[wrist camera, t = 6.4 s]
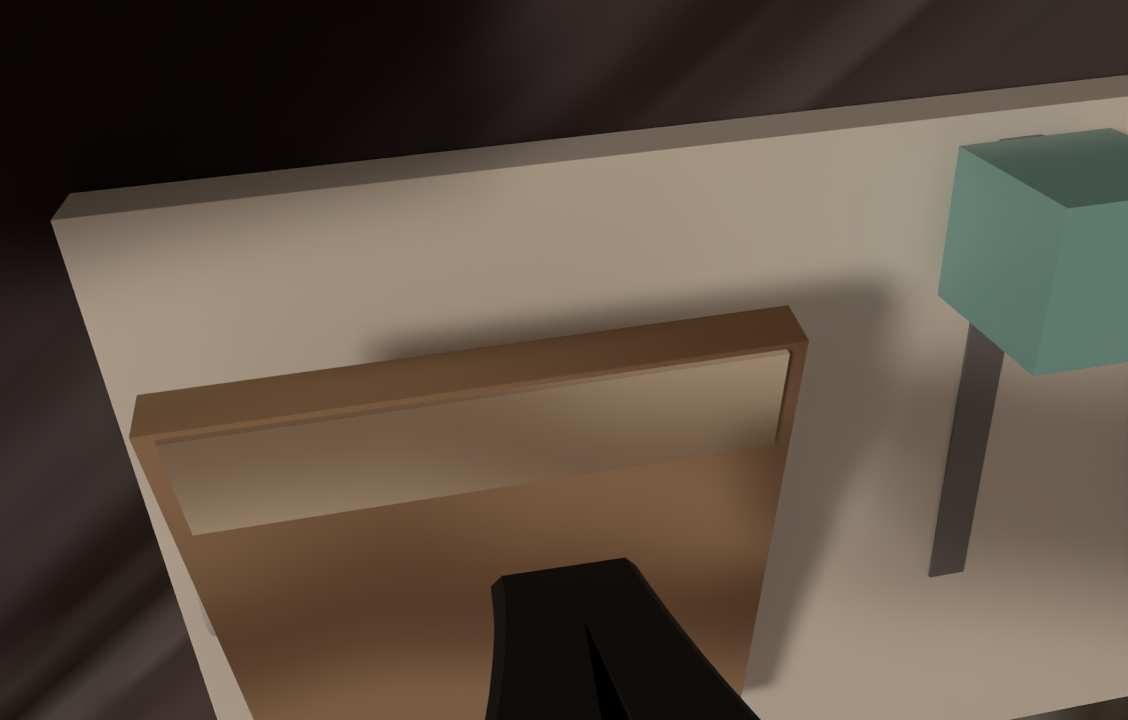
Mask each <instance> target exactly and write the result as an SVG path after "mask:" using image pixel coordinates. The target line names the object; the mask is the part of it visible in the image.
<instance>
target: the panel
mask: <svg viewBox="0 0 1128 720" xmlns="http://www.w3.org/2000/svg"><path fill="white" fill-rule="evenodd" d="M1105 128H1112V129H1114V130H1116V131H1119V132H1121V133H1123V134H1126V135H1128V75H1123V76H1114V77H1106V78H1097V79H1088V80H1079V81H1070V82H1061V83H1052V84H1043V85H1034V86H1025V87H1016V88H1007V89H998V90H990V91H981V92H972V93H963V94H954V95H945V96H936V97H927V98H918V99H909V100H900V101H891V102H882V103H874V104H865V105H856V106H847V107H838V108H829V109H820V110H811V111H802V112H793V113H784V114H775V115H766V116H758V117H749V118H740V119H731V120H722V121H713V122H704V123H695V124H686V125H677V126H668V127H659V128H650V129H642V130H633V131H624V132H615V133H606V134H597V135H588V136H579V137H570V138H561V139H552V140H543V141H534V142H526V143H517V144H508V145H499V146H490V147H481V148H472V149H463V150H454V151H445V152H436V153H427V154H418V155H410V156H401V157H392V158H383V159H374V160H365V161H356V162H347V163H338V164H329V165H320V166H311V167H302V168H294V169H285V170H276V171H267V172H258V173H249V174H240V175H231V176H222V177H213V178H204V179H195V180H186V181H178V182H169V183H160V184H151V185H142V186H133V187H124V188H115V189H106V190H97V191H88V192H79V193H70V194H69V196H68V197H67V198H66V200H65V201H64V202H63V204H62V205H61V207H60V208H59V209H58V211H57V212H56V214H55V215H54V216H53V218H52V219H51V223H52V226H53V229H54V232H55V235H56V238H57V241H58V244H59V247H60V250H61V253H62V256H63V259H64V262H65V265H66V268H67V271H68V274H69V277H70V280H71V283H72V286H73V289H74V292H75V295H76V298H77V301H78V304H79V307H80V310H81V313H82V316H83V319H84V322H85V325H86V328H87V331H88V334H89V337H90V340H91V343H92V346H93V349H94V352H95V355H96V358H97V361H98V364H99V367H100V370H101V373H102V376H103V379H104V382H105V385H106V388H107V391H108V394H109V397H110V400H111V403H112V406H113V409H114V412H115V415H116V418H117V421H118V424H119V427H120V430H121V433H122V436H123V438H124V441H125V444H126V447H127V450H128V453H129V456H130V459H131V462H132V465H133V468H134V471H135V474H136V477H137V480H138V483H139V486H140V489H141V492H142V495H143V498H144V501H145V504H146V507H147V510H148V513H149V516H150V519H151V522H152V525H153V528H154V531H155V534H156V537H157V540H158V543H159V546H160V549H161V552H162V555H163V558H164V561H165V564H166V567H167V570H168V573H169V576H170V579H171V582H172V585H173V588H174V591H175V594H176V597H177V600H178V603H179V606H180V609H181V612H182V615H183V618H184V621H185V624H186V627H187V630H188V633H189V636H190V639H191V642H192V645H193V648H194V651H195V654H196V657H197V660H198V663H199V666H200V669H201V672H202V675H203V678H204V681H205V684H206V687H207V690H208V693H209V696H210V699H211V702H212V705H213V708H214V711H215V714H216V717H217V720H254V719H253V717H252V715H251V713H250V710H249V708H248V706H247V704H246V701H245V699H244V697H243V695H242V692H241V690H240V688H239V686H238V683H237V681H236V679H235V677H234V674H233V672H232V670H231V667H230V665H229V663H228V661H227V658H226V656H225V654H224V652H223V649H222V647H221V645H220V643H219V640H218V638H217V636H216V634H215V631H214V629H213V627H212V625H211V622H210V620H209V618H208V616H207V613H206V611H205V609H204V607H203V604H202V602H201V600H200V598H199V595H198V593H197V591H196V589H195V586H194V584H193V582H192V580H191V577H190V575H189V573H188V571H187V568H186V566H185V564H184V562H183V559H182V557H181V555H180V553H179V550H178V548H177V546H176V544H175V541H174V539H173V537H172V534H171V532H170V530H169V528H168V525H167V523H166V521H165V519H164V516H163V514H162V512H161V510H160V507H159V505H158V503H157V501H156V498H155V496H154V494H153V492H152V489H151V487H150V485H149V483H148V480H147V478H146V476H145V474H144V471H143V469H142V467H141V465H140V462H139V460H138V458H137V456H136V453H135V451H134V449H133V447H132V444H131V442H130V440H129V434H130V429H131V423H132V418H133V413H134V407H135V402H136V397H137V395H141V394H148V393H155V392H162V391H170V390H177V389H184V388H191V387H199V386H206V385H213V384H220V383H228V382H235V381H242V380H249V379H257V378H264V377H271V376H278V375H286V374H293V373H300V372H307V371H315V370H322V369H329V368H336V367H344V366H351V365H358V364H365V363H373V362H380V361H387V360H394V359H402V358H409V357H416V356H423V355H431V354H438V353H445V352H452V351H460V350H467V349H474V348H481V347H489V346H496V345H503V344H510V343H518V342H525V341H532V340H539V339H547V338H554V337H561V336H568V335H576V334H583V333H590V332H597V331H605V330H612V329H619V328H626V327H634V326H641V325H648V324H655V323H663V322H670V321H677V320H684V319H692V318H699V317H706V316H713V315H721V314H728V313H735V312H742V311H750V310H757V309H764V308H771V307H779V306H786V305H789V307H790V309H791V310H792V312H793V314H794V316H795V317H796V319H797V321H798V323H799V324H800V326H801V328H802V329H803V331H804V333H805V335H806V336H807V338H808V340H809V343H808V349H807V354H806V359H805V364H804V370H803V375H802V380H801V385H800V391H799V396H798V401H797V406H796V412H795V417H794V422H793V427H792V433H791V438H790V443H789V448H788V454H787V459H786V464H785V469H784V475H783V480H782V485H781V490H780V496H779V501H778V506H777V511H776V517H775V522H774V527H773V532H772V538H771V543H770V548H769V553H768V559H767V564H766V569H765V574H764V580H763V585H762V590H761V595H760V601H759V606H758V611H757V616H756V622H755V627H754V632H753V637H752V643H751V648H750V653H749V658H748V664H747V669H746V674H745V679H744V685H743V690H742V695H741V698H742V699H743V700H744V702H745V703H746V704H747V705H748V706H749V707H750V708H751V709H752V710H753V712H754V713H755V714H756V715H757V716H758V717H759V718H760V719H761V720H1010V719H1015V718H1020V717H1025V716H1030V715H1035V714H1040V713H1045V712H1050V711H1055V710H1060V709H1065V708H1070V707H1075V706H1080V705H1085V704H1090V703H1095V702H1100V701H1105V700H1110V699H1115V698H1120V697H1125V696H1128V362H1125V363H1118V364H1112V365H1105V366H1098V367H1092V368H1085V369H1079V370H1072V371H1066V372H1059V373H1053V374H1046V375H1039V376H1032V375H1031V374H1030V373H1029V372H1028V371H1026V370H1025V369H1024V368H1023V367H1022V366H1020V365H1019V364H1018V363H1017V362H1016V361H1015V360H1013V359H1012V358H1011V357H1010V356H1009V355H1008V354H1006V353H1005V352H1004V351H1003V350H1002V349H1000V348H999V347H998V346H997V345H996V344H995V343H993V342H992V341H991V340H990V339H989V338H988V337H986V336H985V335H984V334H983V333H982V332H980V331H979V330H978V329H977V328H976V327H975V326H973V325H972V324H971V323H970V322H969V321H968V320H966V319H965V318H964V317H963V316H962V315H960V314H959V313H958V312H957V311H956V310H955V309H953V308H952V307H951V306H950V305H949V304H948V303H946V302H945V301H944V300H943V299H942V298H940V297H939V296H938V288H939V281H940V274H941V267H942V260H943V253H944V246H945V240H946V233H947V226H948V219H949V212H950V205H951V198H952V191H953V184H954V177H955V170H956V163H957V156H958V149H959V146H962V145H971V144H979V143H987V142H996V141H1004V140H1013V139H1021V138H1029V137H1038V136H1046V135H1055V134H1063V133H1071V132H1080V131H1088V130H1096V129H1105Z"/></svg>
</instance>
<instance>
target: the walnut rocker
mask: <svg viewBox="0 0 1128 720" xmlns="http://www.w3.org/2000/svg"><path fill="white" fill-rule="evenodd" d="M808 343H809V340H808V338H807V336H806V335H805V333H804V331H803V329H802V328H801V326H800V324H799V323H798V321H797V319H796V317H795V316H794V314H793V312H792V310H791V309H790V307H789V305H786V306H779V307H771V308H764V309H757V310H750V311H742V312H735V313H728V314H721V315H713V316H706V317H699V318H692V319H684V320H677V321H670V322H663V323H655V324H648V325H641V326H634V327H626V328H619V329H612V330H605V331H597V332H590V333H583V334H576V335H568V336H561V337H554V338H547V339H539V340H532V341H525V342H518V343H510V344H503V345H496V346H489V347H481V348H474V349H467V350H460V351H452V352H445V353H438V354H431V355H423V356H416V357H409V358H402V359H394V360H387V361H380V362H373V363H365V364H358V365H351V366H344V367H336V368H329V369H322V370H315V371H307V372H300V373H293V374H286V375H278V376H271V377H264V378H257V379H249V380H242V381H235V382H228V383H220V384H213V385H206V386H199V387H191V388H184V389H177V390H170V391H162V392H155V393H148V394H141V395H137V397H136V402H135V407H134V413H133V418H132V423H131V429H130V434H129V440H130V442H131V444H132V447H133V449H134V451H135V453H136V456H137V458H138V460H139V462H140V465H141V467H142V469H143V471H144V474H145V476H146V478H147V480H148V483H149V485H150V487H151V489H152V492H153V494H154V496H155V498H156V501H157V503H158V505H159V507H160V510H161V512H162V514H163V516H164V519H165V521H166V523H167V525H168V528H169V530H170V532H171V534H172V537H173V539H174V541H175V544H176V546H177V548H178V550H179V553H180V555H181V557H182V559H183V562H184V564H185V566H186V568H187V571H188V573H189V575H190V577H191V580H192V582H193V584H194V586H195V589H196V591H197V593H198V595H199V598H200V600H201V602H202V604H203V607H204V609H205V611H206V613H207V616H208V618H209V620H210V622H211V625H212V627H213V629H214V631H215V634H216V636H217V638H218V640H219V643H220V645H221V647H222V649H223V652H224V654H225V656H226V658H227V661H228V663H229V665H230V667H231V670H232V672H233V674H234V677H235V679H236V681H237V683H238V686H239V688H240V690H241V692H242V695H243V697H244V699H245V701H246V704H247V706H248V708H249V710H250V713H251V715H252V717H253V719H254V720H485V716H486V710H487V704H488V698H489V690H490V680H491V670H492V660H493V646H494V617H493V607H492V596H491V586H492V585H493V584H494V583H495V582H496V581H497V580H498V579H499V578H500V577H501V576H504V575H510V574H517V573H524V572H530V571H537V570H544V569H551V568H557V567H564V566H571V565H577V564H584V563H591V562H598V561H604V560H611V559H618V558H624V557H626V558H627V559H628V560H630V561H631V562H632V563H634V564H635V565H636V566H637V567H638V569H639V570H640V572H641V573H642V575H643V576H644V578H645V579H646V580H647V582H648V583H649V585H650V586H651V587H652V589H653V590H654V591H655V593H656V594H657V596H658V597H659V598H660V600H661V601H662V602H663V604H664V605H665V606H666V608H667V609H668V610H669V612H670V613H671V614H672V616H673V617H674V618H675V619H676V621H677V622H678V623H679V625H680V626H681V627H682V628H683V630H684V631H685V632H686V633H687V635H688V636H689V637H690V638H691V639H692V641H693V642H694V643H695V644H696V646H697V647H698V648H699V649H700V651H701V652H702V653H703V654H704V656H705V657H706V658H707V659H708V660H709V662H710V663H711V664H712V665H713V666H714V667H715V669H716V670H717V671H718V672H719V673H720V674H721V676H722V677H723V678H724V679H725V680H726V681H727V683H728V684H729V685H730V686H731V687H732V688H733V689H734V690H735V692H736V693H737V694H738V695H739V696H740V697H741V695H742V690H743V685H744V679H745V674H746V669H747V664H748V658H749V653H750V648H751V643H752V637H753V632H754V627H755V622H756V616H757V611H758V606H759V601H760V595H761V590H762V585H763V580H764V574H765V569H766V564H767V559H768V553H769V548H770V543H771V538H772V532H773V527H774V522H775V517H776V511H777V506H778V501H779V496H780V490H781V485H782V480H783V475H784V469H785V464H786V459H787V454H788V448H789V443H790V438H791V433H792V427H793V422H794V417H795V412H796V406H797V401H798V396H799V391H800V385H801V380H802V375H803V370H804V364H805V359H806V354H807V349H808Z"/></svg>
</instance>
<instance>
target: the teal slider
mask: <svg viewBox="0 0 1128 720" xmlns="http://www.w3.org/2000/svg"><path fill="white" fill-rule="evenodd" d="M938 296H939V297H940V298H942V299H943V300H944V301H945V302H946V303H948V304H949V305H950V306H951V307H952V308H953V309H955V310H956V311H957V312H958V313H959V314H960V315H962V316H963V317H964V318H965V319H966V320H968V321H969V322H970V323H971V324H972V325H973V326H975V327H976V328H977V329H978V330H979V331H980V332H982V333H983V334H984V335H985V336H986V337H988V338H989V339H990V340H991V341H992V342H993V343H995V344H996V345H997V346H998V347H999V348H1000V349H1002V350H1003V351H1004V352H1005V353H1006V354H1008V355H1009V356H1010V357H1011V358H1012V359H1013V360H1015V361H1016V362H1017V363H1018V364H1019V365H1020V366H1022V367H1023V368H1024V369H1025V370H1026V371H1028V372H1029V373H1030V374H1031V375H1032V376H1039V375H1046V374H1053V373H1059V372H1066V371H1072V370H1079V369H1085V368H1092V367H1098V366H1105V365H1112V364H1118V363H1125V362H1128V135H1126V134H1123V133H1121V132H1119V131H1116V130H1114V129H1112V128H1105V129H1096V130H1088V131H1080V132H1071V133H1063V134H1055V135H1046V136H1038V137H1029V138H1021V139H1013V140H1004V141H996V142H987V143H979V144H971V145H962V146H959V149H958V156H957V163H956V170H955V177H954V184H953V191H952V198H951V205H950V212H949V219H948V226H947V233H946V240H945V246H944V253H943V260H942V267H941V274H940V281H939V288H938Z"/></svg>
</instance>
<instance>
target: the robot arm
mask: <svg viewBox="0 0 1128 720" xmlns="http://www.w3.org/2000/svg"><path fill="white" fill-rule="evenodd" d="M491 596H492V607H493V617H494V646H493V660H492V670H491V680H490V690H489V698H488V704H487V710H486V716H485V720H761V719H760V718H759V717H758V716H757V715H756V714H755V713H754V712H753V710H752V709H751V708H750V707H749V706H748V705H747V704H746V703H745V702H744V700H743V699H742V698H741V697H740V696H739V695H738V694H737V693H736V692H735V690H734V689H733V688H732V687H731V686H730V685H729V684H728V683H727V681H726V680H725V679H724V678H723V677H722V676H721V674H720V673H719V672H718V671H717V670H716V669H715V667H714V666H713V665H712V664H711V663H710V662H709V660H708V659H707V658H706V657H705V656H704V654H703V653H702V652H701V651H700V649H699V648H698V647H697V646H696V644H695V643H694V642H693V641H692V639H691V638H690V637H689V636H688V635H687V633H686V632H685V631H684V630H683V628H682V627H681V626H680V625H679V623H678V622H677V621H676V619H675V618H674V617H673V616H672V614H671V613H670V612H669V610H668V609H667V608H666V606H665V605H664V604H663V602H662V601H661V600H660V598H659V597H658V596H657V594H656V593H655V591H654V590H653V589H652V587H651V586H650V585H649V583H648V582H647V580H646V579H645V578H644V576H643V575H642V573H641V572H640V570H639V569H638V567H637V566H636V565H635V564H634V563H632V562H631V561H630V560H628V559H627V558H626V557H624V558H618V559H611V560H604V561H598V562H591V563H584V564H577V565H571V566H564V567H557V568H551V569H544V570H537V571H530V572H524V573H517V574H510V575H504V576H501V577H500V578H499V579H498V580H497V581H496V582H495V583H494V584H493V585H492V586H491Z"/></svg>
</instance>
